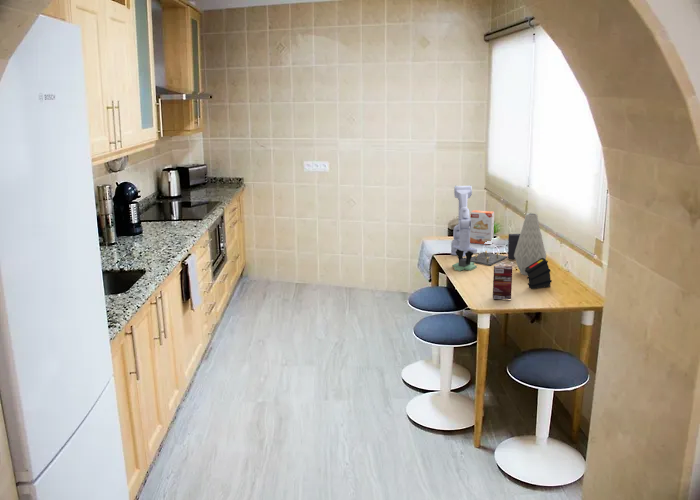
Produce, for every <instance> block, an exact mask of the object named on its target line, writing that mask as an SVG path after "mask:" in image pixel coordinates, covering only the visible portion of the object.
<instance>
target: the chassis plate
mask: <svg viewBox="0 0 700 500" xmlns="http://www.w3.org/2000/svg"><path fill="white" fill-rule="evenodd" d="M506 259H508V255H502V254H499V252H496V253H493V252H488V250H485V251H483V252H481V253H478V254H475V255H472V257H471V260H470V262H473V263H474V264H478V265H483V266H489V267H491V266H494V265H495V264H497V263H500V262H502V261H504V260H506Z"/></svg>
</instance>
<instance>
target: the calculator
mask: <svg viewBox="0 0 700 500" xmlns="http://www.w3.org/2000/svg"><path fill="white" fill-rule="evenodd" d="M519 237H520V233H508V237H507V238H508V239H507V240H508V242H507V243H508V244H507V245H508V246H507V248H508V249H507V256H508V258H507V259H508V260H509V261H516V259H515V257H514V253H515V249H516V247H517V243H518V240H519Z"/></svg>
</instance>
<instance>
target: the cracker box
mask: <svg viewBox="0 0 700 500" xmlns="http://www.w3.org/2000/svg"><path fill="white" fill-rule="evenodd" d="M470 219H471V229H470V244H478V245H479V244H480V245H485V244H484V243H485V242H487V241H491V240H492V238H493V239H494V234H495V233H494V230H495V227H494V226H495V211H491V210H490V211H488V210H476V209H473V210H471V211H470Z"/></svg>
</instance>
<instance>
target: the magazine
mask: <svg viewBox="0 0 700 500" xmlns="http://www.w3.org/2000/svg"><path fill="white" fill-rule="evenodd" d="M548 262H549V261H548V260H547V258H546V259H545V258H541V259H539V260H538V261H536V262H534V263H533V264H531V265H530V266H528V267H526V268H525V272H527V274H528V276H527V277H526V279H528V283H527V285H528V289H531V290H536V289H544V288H551V284H552V280H551V269H550V267H549V264H548Z"/></svg>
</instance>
